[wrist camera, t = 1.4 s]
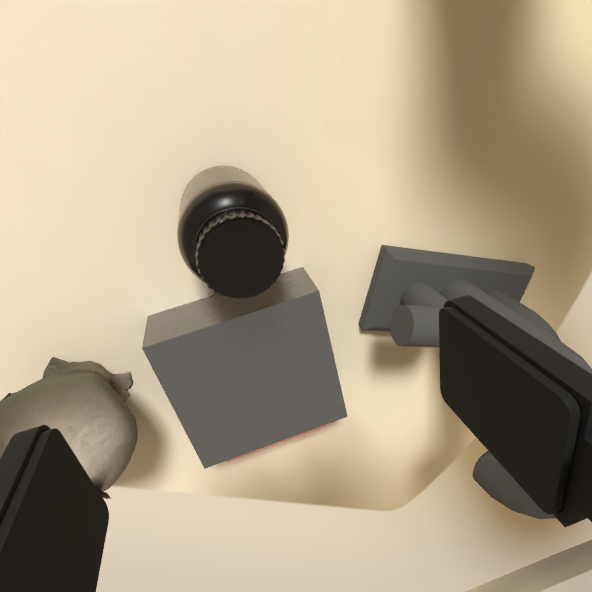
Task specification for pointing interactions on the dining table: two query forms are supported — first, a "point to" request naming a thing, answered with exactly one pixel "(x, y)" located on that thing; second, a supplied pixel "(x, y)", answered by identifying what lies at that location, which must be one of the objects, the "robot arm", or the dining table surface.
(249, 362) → the stand
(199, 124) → the dining table surface
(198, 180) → the supplement bottle
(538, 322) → the faucet
